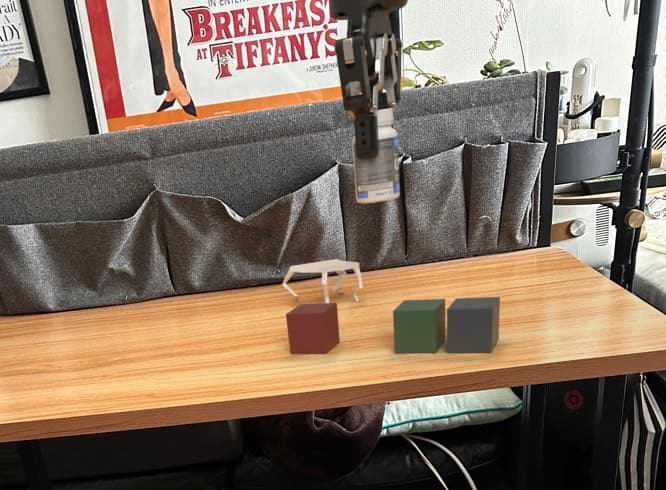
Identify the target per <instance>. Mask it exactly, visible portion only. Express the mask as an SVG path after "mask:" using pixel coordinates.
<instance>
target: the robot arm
mask: <svg viewBox="0 0 666 490" xmlns="http://www.w3.org/2000/svg"><path fill="white" fill-rule="evenodd" d="M408 2H409V0H328V5H329V6H328V7H329V15H330V17H331V18H332V19H333V20H335V21H347V25H346V26H347V27H346V37H344V38H343V37H342V38H339V39H336V40H335V42H334V50H335V56H336V62H337V70H338V77H339V83H340V84H339V85H340V90H341V97H342V105H343V109H344V111H345V112H349V113H350V117H351V118H353V125H354V127H353V128H354V136H355V143H356V156H357V158H358V159H368V158H374V157H376V156H378V154H379V143H378V122H377V115H375V116H373V115H374V114H376V113H377V110H383V109H389V108H392V109H393V112H395V111H396V107H397V104H400V103H401V96H402V95H401V85H402V84H401V83H402V52H403V50H402V49H403V41H402V39H401V38H400V37H399V38H396V37H395V33H393V31H392V25H391V19H390V15H391V13H392V12H395V11H399V10H402V9H403V8H404V7H405V6H407V4H408ZM384 90H385V92H384ZM354 117H355V119H354ZM391 127H392V128H393V129H394V127H395V126H394V123H393V124H392V125H391Z"/></svg>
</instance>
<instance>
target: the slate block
mask: <svg viewBox="0 0 666 490" xmlns="http://www.w3.org/2000/svg"><path fill="white" fill-rule="evenodd" d="M500 306H501V297H500V296H488V297H460V298H459V297H458V298H455V299H454V300H453V302H451V304H450V305H449V306H448V308H446V353H447V354H454V353H455V354H465V353H466V354H467V353H468V354H470V353H471V354H480V353H481V354H483V353H484V354H485V353H486V354H487V353H488V354H489V353H492V352H493V350H494V349H495V347H496V345H497V344H498V342H499V338H500V309H501V307H500Z"/></svg>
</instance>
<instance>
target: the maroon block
mask: <svg viewBox="0 0 666 490" xmlns="http://www.w3.org/2000/svg"><path fill="white" fill-rule="evenodd" d="M285 318H286V329H287V337H288V345H289V353H290V354H294V355H295V354H296V355H297V354H328V353H329V352H330V351H331V350H332V349H334V348H335V347H336V346H337V345H338V344H339V343H340V342H341V341H340V339H341V338H340V327H339V313H338V303H337V302H329V303H325V302H320V303H300V304H299V305H297V306H296V307H295V308H292V309H291V310H290V311H288V312H287V313H285Z"/></svg>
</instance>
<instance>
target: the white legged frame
mask: <svg viewBox="0 0 666 490" xmlns="http://www.w3.org/2000/svg"><path fill="white" fill-rule="evenodd" d="M360 269H361V268H360V262H356V261H348V260H343V259H342V260H341V259H339V258H335V259H334V258H333V259H327V260H322V261H316V262H315V261H314V262H309V263H303V264H302V263H301V264H297V265H290V267H289V270H288V272H287V273H286V275H285V276H284V279H283V281H282V283H281V285H282V286H283V287H284V288H285V289H286V290H287V291H288V292H289V293H291V295H292V296H293V297H294V301H299V295H298V294H297V293H296V292H295V291H294V290H293V289H292V288H291V287H290V286H289V285H288V284H287V283H288V281H289V280H290V279H291V277H292V276H293V275H294V273H302V274H304V273H305V274H306V273H309V274H311V273H312V274H313V273H321V282H320V284H321V288H322V294H323V297H324V298H323V299H324V303H330V296H329V289H328V273H332V272H335V273H336V274H337V275H338V277H337V279H336V281H335V283H334V285H333V286H332V289H331V292H333V293H336V294H338V295H341V294H345V292H343V291H342V290H339V289H338V288H339V287H340V285H341V283H342V282H343V280H344V279H345V277H346V276H347V275H348V274H347V272H346V270H347V271H348V270H353V272H354V274H355V276H356V278H357V281H358V286H359V288H358V289H357V290H356V291H355V292H353V294H352V296H353V298H354V300H355V302H359V301H360V299H359V298H358V296H357V294H359V292H360V291H361V290H363V289H364V285H363V277H362V273H361V270H360Z"/></svg>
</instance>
